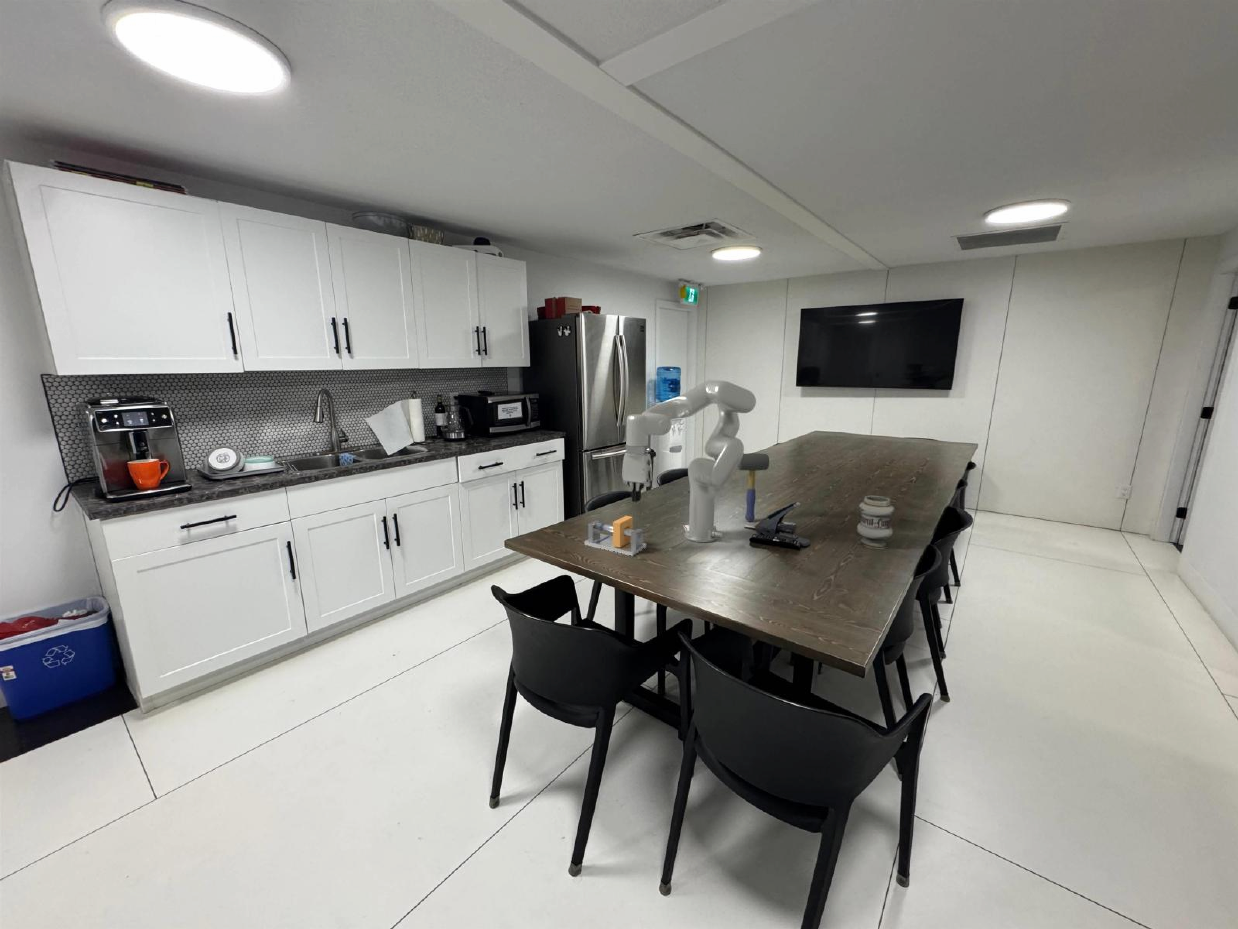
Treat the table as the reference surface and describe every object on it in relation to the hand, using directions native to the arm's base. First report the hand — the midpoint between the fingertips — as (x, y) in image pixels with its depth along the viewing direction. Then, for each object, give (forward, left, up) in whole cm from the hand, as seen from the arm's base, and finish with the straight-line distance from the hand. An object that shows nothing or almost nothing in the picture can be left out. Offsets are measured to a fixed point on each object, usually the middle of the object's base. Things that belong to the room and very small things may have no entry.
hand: (636, 500), depth 171 cm
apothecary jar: (-72, -53, -19) cm, 92 cm away
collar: (+6, 0, -17) cm, 18 cm away
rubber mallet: (-24, -56, -19) cm, 64 cm away
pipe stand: (+9, 0, -19) cm, 21 cm away
